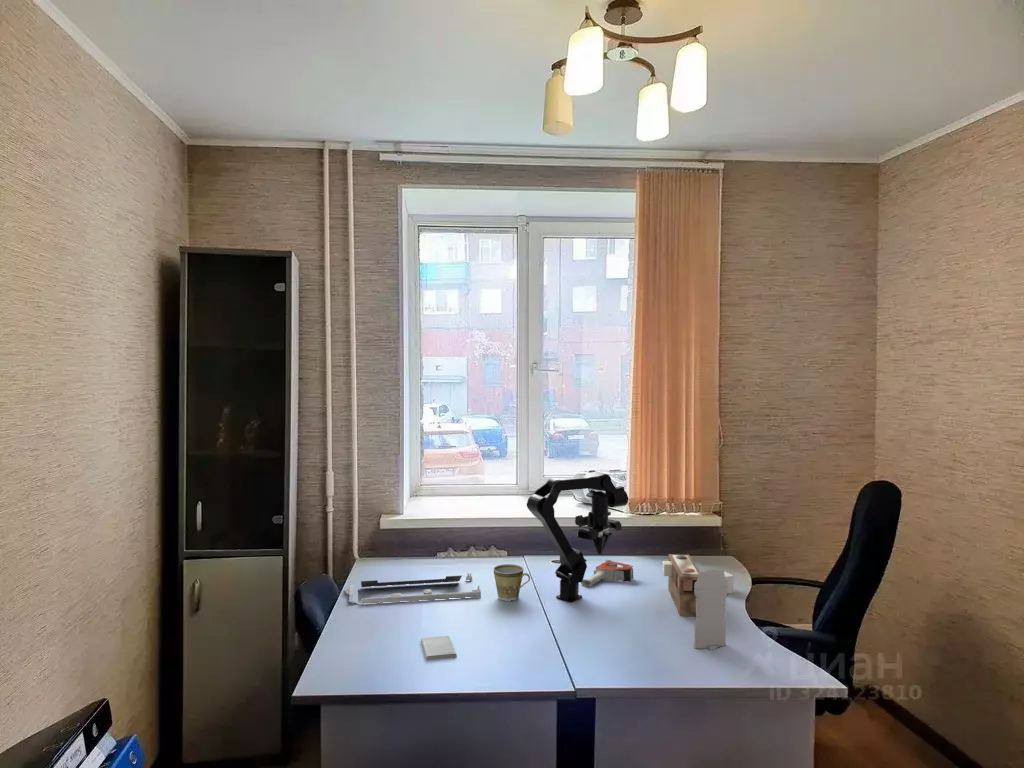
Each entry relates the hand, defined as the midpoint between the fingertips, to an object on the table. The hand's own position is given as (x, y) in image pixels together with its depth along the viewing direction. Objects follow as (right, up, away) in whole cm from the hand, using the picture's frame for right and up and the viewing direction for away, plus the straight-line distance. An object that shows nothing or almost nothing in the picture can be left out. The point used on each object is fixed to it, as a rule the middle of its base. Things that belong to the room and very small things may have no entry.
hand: (599, 554), depth 236 cm
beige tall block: (+25, -15, -44) cm, 53 cm away
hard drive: (-51, -15, -47) cm, 70 cm away
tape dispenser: (+4, -13, +14) cm, 19 cm away
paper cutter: (-64, -13, -2) cm, 66 cm away
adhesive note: (+42, -14, +2) cm, 44 cm away
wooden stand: (+27, -14, -10) cm, 31 cm away
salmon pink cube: (+25, -7, -17) cm, 31 cm away
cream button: (+23, -6, -3) cm, 24 cm away
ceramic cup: (-30, -13, -7) cm, 34 cm away
